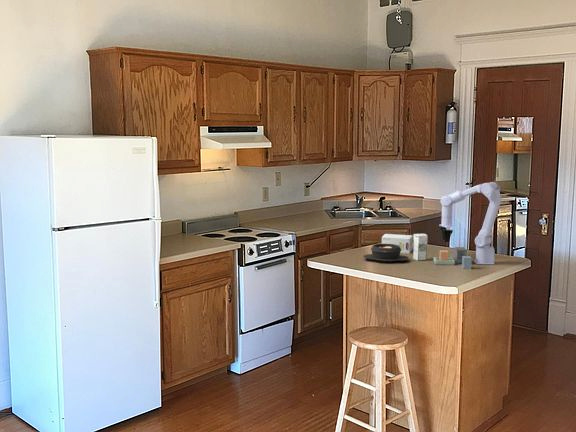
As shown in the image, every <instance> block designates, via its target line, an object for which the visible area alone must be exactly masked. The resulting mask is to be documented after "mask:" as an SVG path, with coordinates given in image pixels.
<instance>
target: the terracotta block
mask: <svg viewBox="0 0 576 432" xmlns="http://www.w3.org/2000/svg"><path fill="white" fill-rule="evenodd" d="M438 257H439V261H448V257H449V251H448V250H445V249H444V250H443V249H442V250H439V256H438Z"/></svg>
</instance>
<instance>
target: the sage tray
mask: <svg viewBox="0 0 576 432" xmlns="http://www.w3.org/2000/svg"><path fill="white" fill-rule="evenodd" d="M453 259H454V257H450V256H448V261H439V256H433V257H432V261H433V263H434V264H435V266H455V261H454V260H453Z"/></svg>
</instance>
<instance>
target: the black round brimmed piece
mask: <svg viewBox="0 0 576 432" xmlns="http://www.w3.org/2000/svg"><path fill="white" fill-rule="evenodd" d="M370 251H371V253H369V254H368V253H367V254H364V255H363V256H362V257H363V258H364V259H366V260H374V261H376V262H379V263H394V262H397V261H407V260H409V256H407V255H401V253H400V252H401V249H400V246H399V245H395V244H382V243H376V244H373V245H372V246H371V248H370Z"/></svg>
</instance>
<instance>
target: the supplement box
mask: <svg viewBox="0 0 576 432" xmlns="http://www.w3.org/2000/svg"><path fill="white" fill-rule="evenodd" d="M413 238H414V234H412V235H411V234H394V233H384V234H383V235H382V236H381V244H395V245H399V246H400V249H401V252H400V254H411V252H413Z"/></svg>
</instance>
